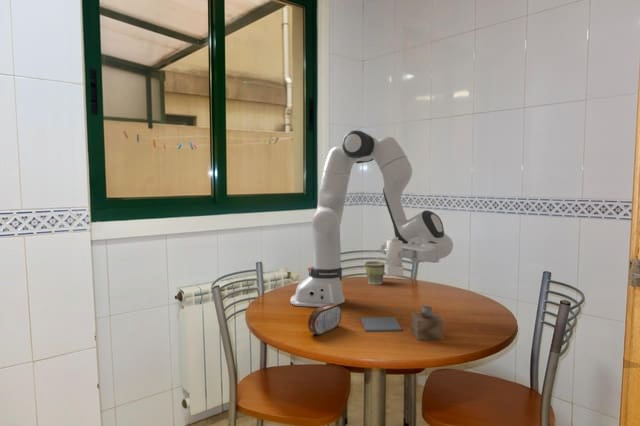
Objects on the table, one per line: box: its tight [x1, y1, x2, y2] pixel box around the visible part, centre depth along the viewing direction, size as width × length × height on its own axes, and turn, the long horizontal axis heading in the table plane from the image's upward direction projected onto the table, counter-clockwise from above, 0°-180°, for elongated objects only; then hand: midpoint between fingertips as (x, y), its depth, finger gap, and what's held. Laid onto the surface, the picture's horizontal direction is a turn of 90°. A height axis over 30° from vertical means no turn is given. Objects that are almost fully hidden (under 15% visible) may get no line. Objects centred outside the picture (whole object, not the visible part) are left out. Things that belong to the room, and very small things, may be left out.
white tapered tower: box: [384, 236, 404, 277], centre depth 135 cm, size 5×5×12 cm
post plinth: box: [410, 305, 444, 341], centre depth 130 cm, size 8×8×9 cm
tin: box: [307, 303, 342, 336], centre depth 134 cm, size 15×3×8 cm, turn 141°
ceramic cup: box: [364, 260, 386, 286], centre depth 199 cm, size 13×10×10 cm
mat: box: [360, 316, 403, 332], centre depth 140 cm, size 12×12×1 cm
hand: (392, 253), depth 134 cm, fingers closed on white tapered tower, 5 cm apart
